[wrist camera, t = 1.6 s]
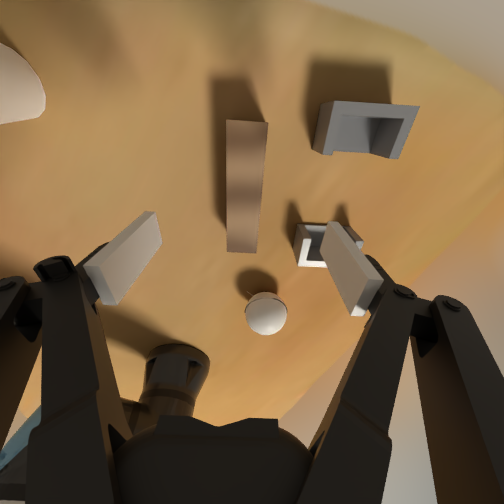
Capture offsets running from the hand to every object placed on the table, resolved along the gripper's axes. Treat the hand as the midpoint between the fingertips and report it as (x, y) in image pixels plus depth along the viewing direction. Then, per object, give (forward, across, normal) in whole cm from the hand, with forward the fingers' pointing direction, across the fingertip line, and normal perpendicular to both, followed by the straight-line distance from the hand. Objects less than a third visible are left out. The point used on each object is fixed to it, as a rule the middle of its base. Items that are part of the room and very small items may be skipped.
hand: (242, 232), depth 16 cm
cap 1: (+14, -12, +8) cm, 19 cm away
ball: (+14, -4, +20) cm, 24 cm away
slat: (+14, 0, 0) cm, 14 cm away
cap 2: (+14, -12, -7) cm, 19 cm away
